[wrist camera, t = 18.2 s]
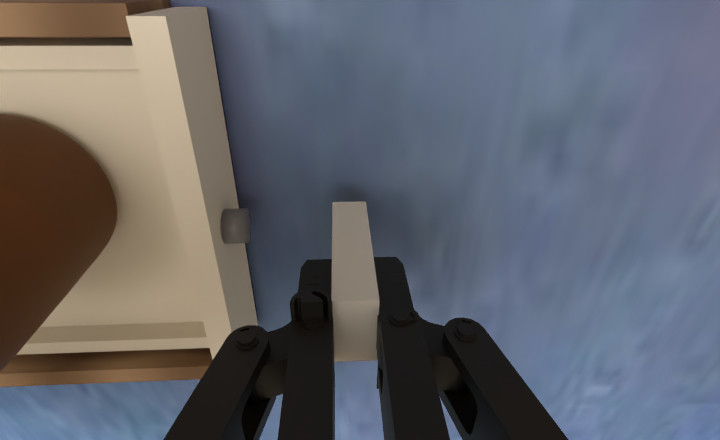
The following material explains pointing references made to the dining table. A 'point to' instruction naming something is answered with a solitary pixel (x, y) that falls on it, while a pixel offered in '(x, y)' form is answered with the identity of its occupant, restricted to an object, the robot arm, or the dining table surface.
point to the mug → (45, 224)
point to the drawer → (144, 183)
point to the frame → (89, 21)
